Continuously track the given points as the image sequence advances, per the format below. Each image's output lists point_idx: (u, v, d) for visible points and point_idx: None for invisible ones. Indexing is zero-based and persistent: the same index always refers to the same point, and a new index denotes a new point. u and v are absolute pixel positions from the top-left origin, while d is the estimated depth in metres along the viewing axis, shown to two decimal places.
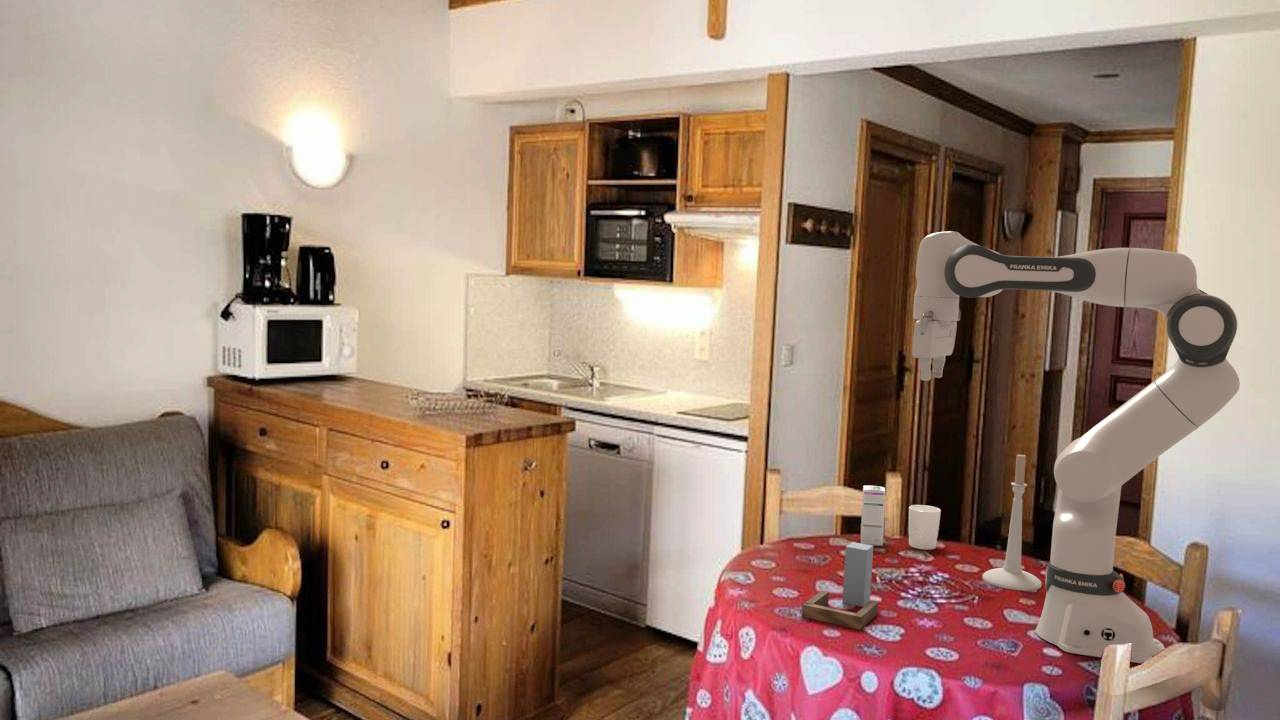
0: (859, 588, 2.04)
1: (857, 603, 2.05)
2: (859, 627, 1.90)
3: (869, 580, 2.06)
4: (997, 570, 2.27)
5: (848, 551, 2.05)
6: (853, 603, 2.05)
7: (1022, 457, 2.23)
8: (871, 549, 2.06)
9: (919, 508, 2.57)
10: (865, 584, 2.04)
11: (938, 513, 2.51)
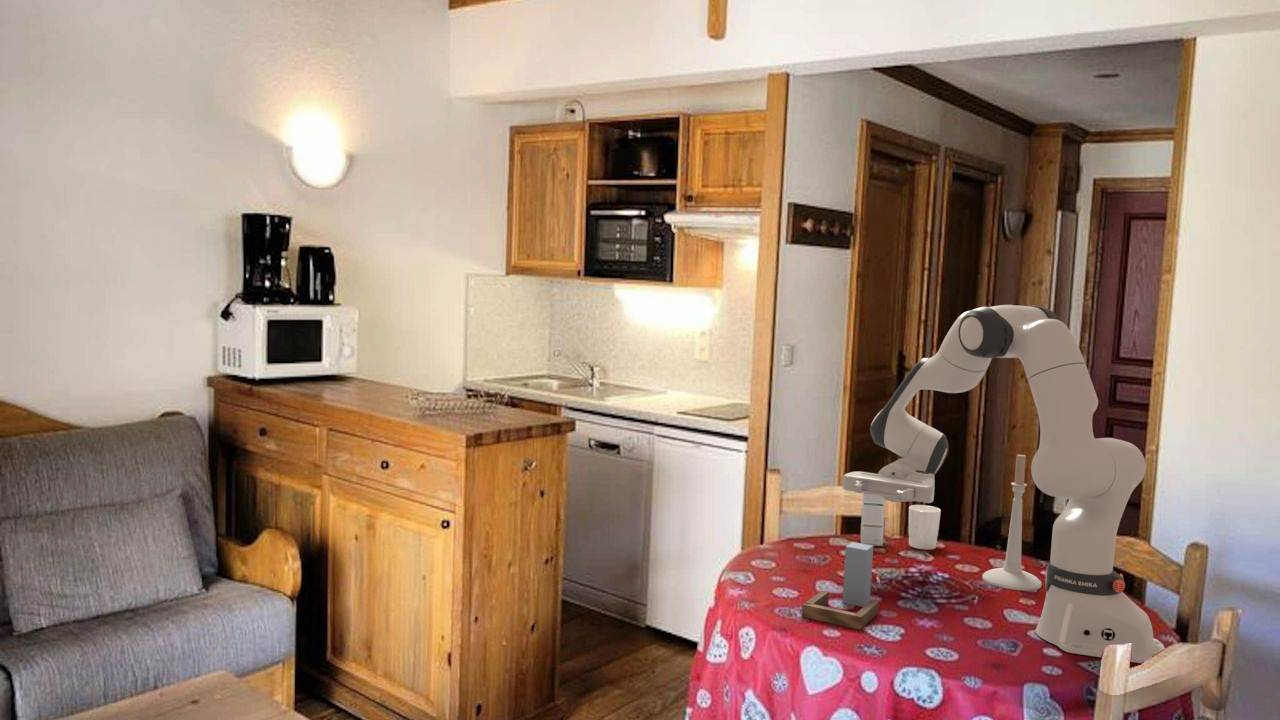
0: (859, 588, 2.04)
1: (857, 603, 2.05)
2: (859, 627, 1.90)
3: (869, 580, 2.06)
4: (997, 570, 2.27)
5: (848, 551, 2.05)
6: (853, 603, 2.05)
7: (1022, 457, 2.23)
8: (871, 549, 2.06)
9: (919, 508, 2.57)
10: (865, 584, 2.04)
11: (938, 513, 2.51)
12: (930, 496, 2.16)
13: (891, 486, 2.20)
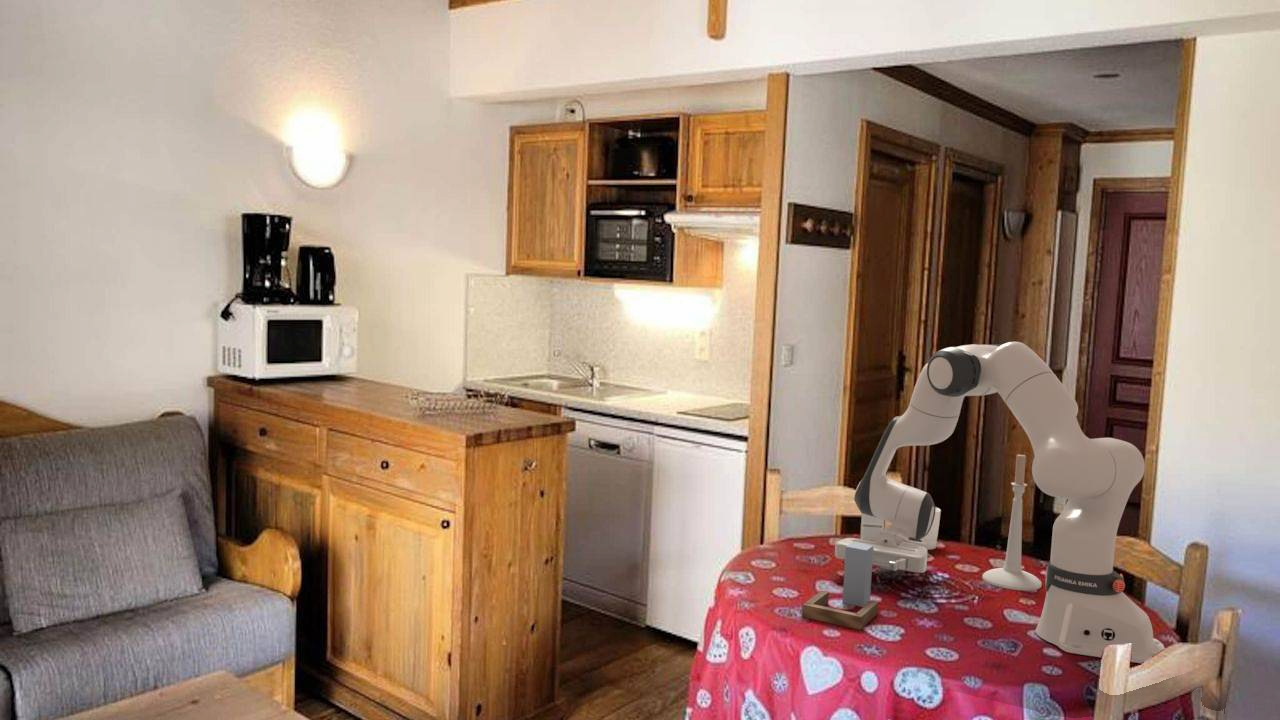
0: (859, 588, 2.04)
1: (857, 603, 2.05)
2: (859, 627, 1.90)
3: (869, 580, 2.06)
4: (997, 570, 2.27)
5: (848, 551, 2.05)
6: (853, 603, 2.05)
7: (1022, 457, 2.23)
8: (871, 549, 2.06)
9: None
10: (865, 584, 2.04)
11: (938, 513, 2.51)
12: (922, 566, 2.14)
13: (883, 555, 2.18)
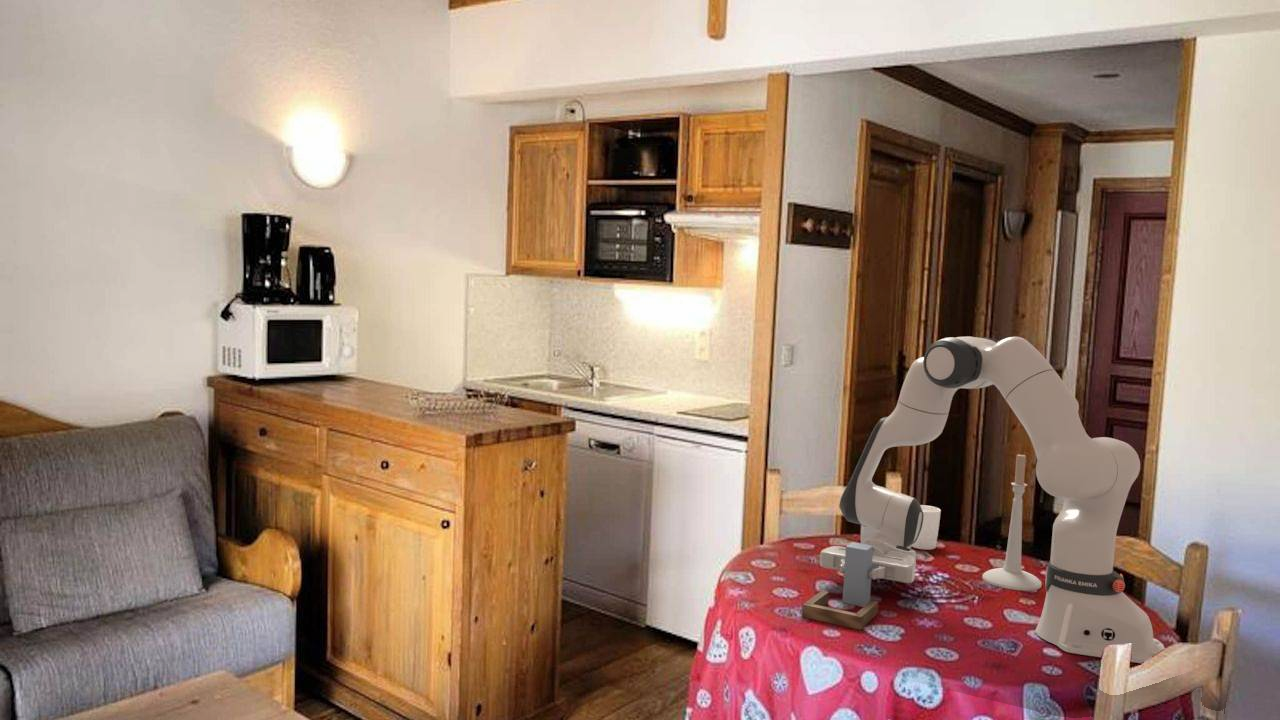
0: (859, 588, 2.04)
1: (857, 603, 2.05)
2: (859, 627, 1.90)
3: (869, 580, 2.06)
4: (997, 570, 2.27)
5: (848, 551, 2.05)
6: (853, 603, 2.05)
7: (1022, 457, 2.23)
8: (871, 549, 2.06)
9: None
10: (865, 584, 2.04)
11: (938, 513, 2.51)
12: (910, 576, 2.05)
13: None
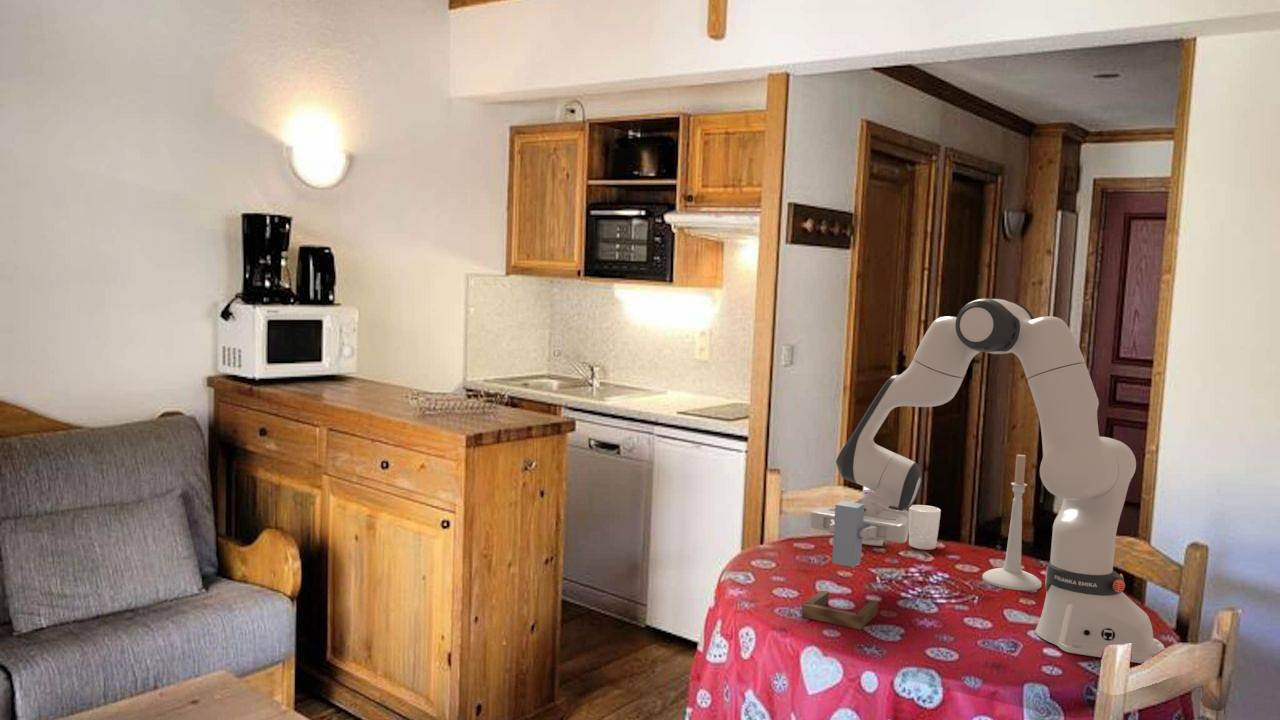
0: (849, 548, 1.96)
1: (847, 563, 1.97)
2: (859, 627, 1.90)
3: (860, 540, 1.99)
4: (997, 570, 2.27)
5: (838, 509, 1.97)
6: (843, 563, 1.97)
7: (1022, 457, 2.23)
8: (862, 507, 1.98)
9: (919, 508, 2.57)
10: (855, 543, 1.96)
11: (938, 513, 2.51)
12: (903, 536, 1.97)
13: None
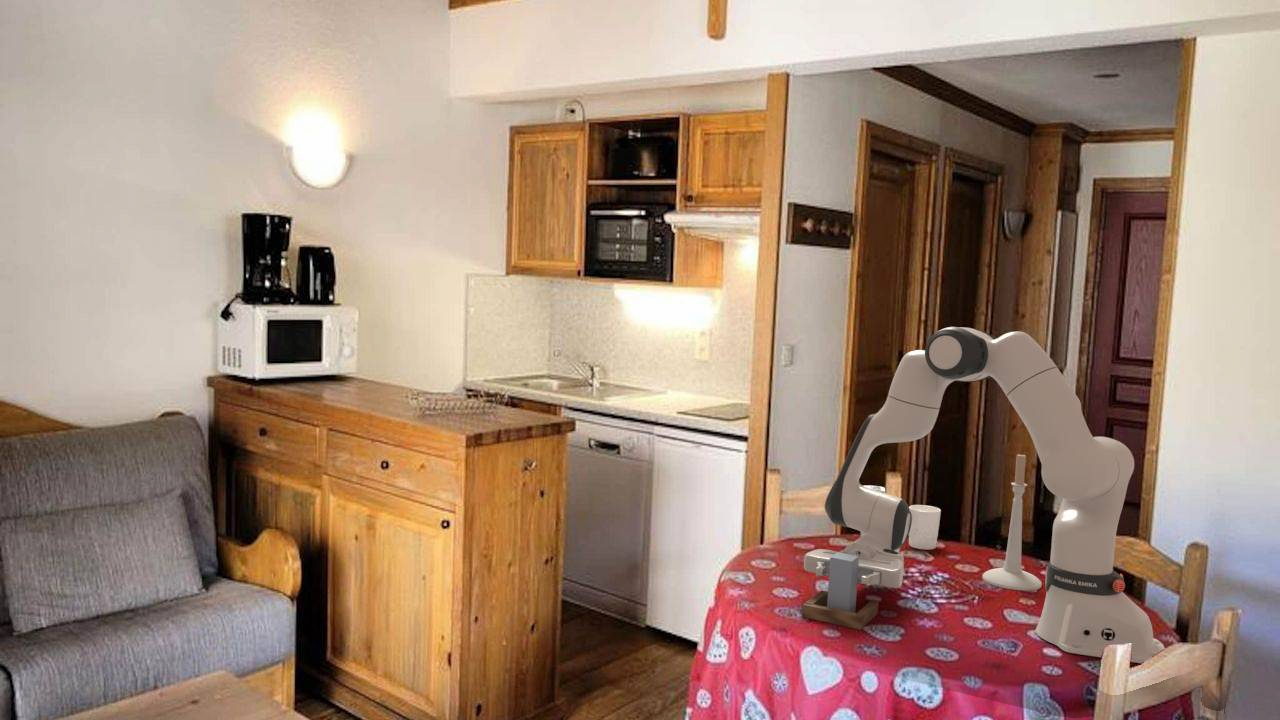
0: (844, 601, 1.96)
1: None
2: (859, 627, 1.90)
3: (854, 592, 1.98)
4: (997, 570, 2.27)
5: (832, 562, 1.96)
6: None
7: (1022, 457, 2.23)
8: (856, 560, 1.97)
9: (919, 508, 2.57)
10: (850, 596, 1.95)
11: (938, 513, 2.51)
12: (897, 581, 1.97)
13: None
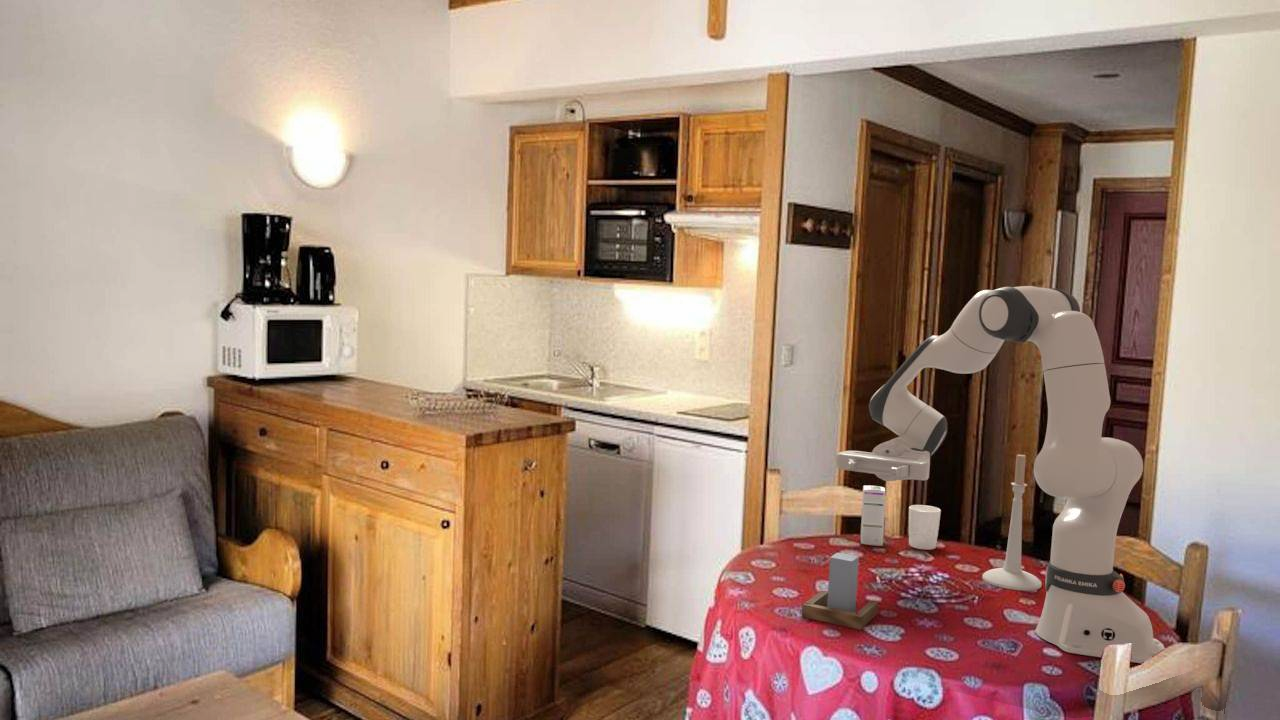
0: (844, 601, 1.96)
1: None
2: (859, 627, 1.90)
3: (854, 592, 1.98)
4: (997, 570, 2.27)
5: (832, 562, 1.96)
6: None
7: (1022, 457, 2.23)
8: (856, 560, 1.97)
9: (919, 508, 2.57)
10: (850, 596, 1.95)
11: (938, 513, 2.51)
12: (925, 473, 2.10)
13: (885, 463, 2.14)
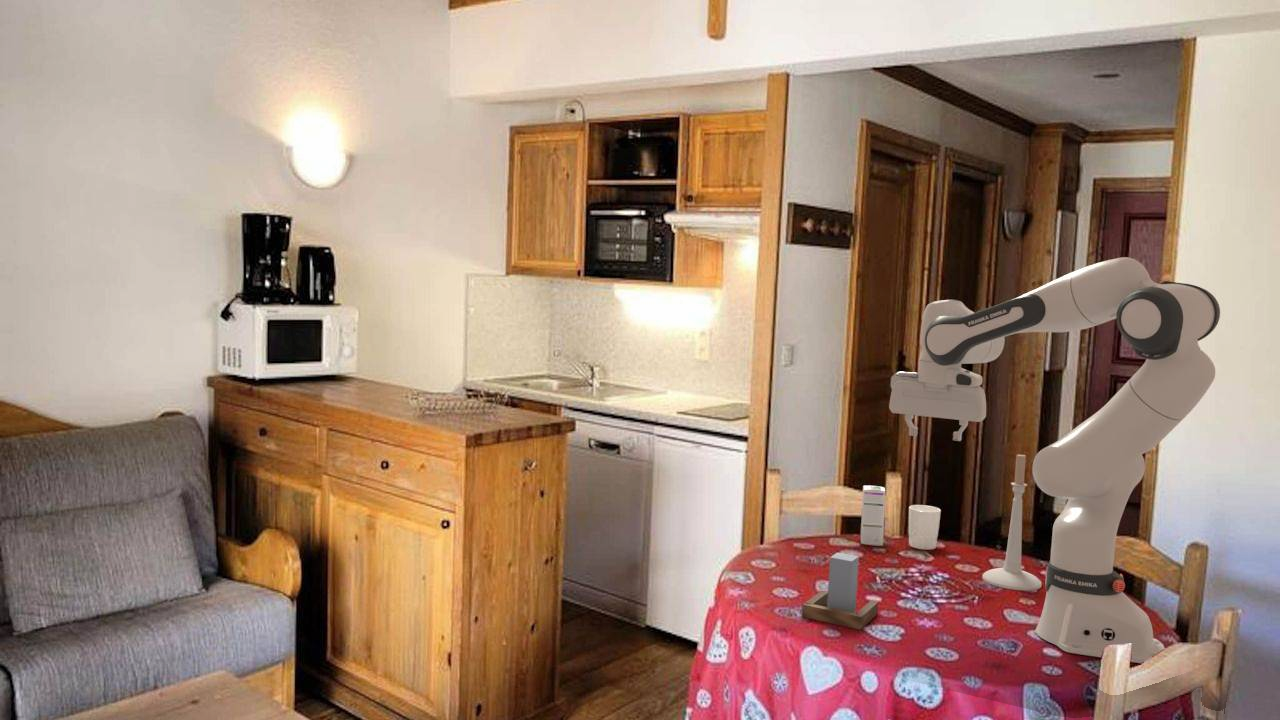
0: (844, 601, 1.96)
1: None
2: (859, 627, 1.90)
3: (854, 592, 1.98)
4: (997, 570, 2.27)
5: (832, 562, 1.96)
6: None
7: (1022, 457, 2.23)
8: (856, 560, 1.97)
9: (919, 508, 2.57)
10: (850, 596, 1.95)
11: (938, 513, 2.51)
12: None
13: None
